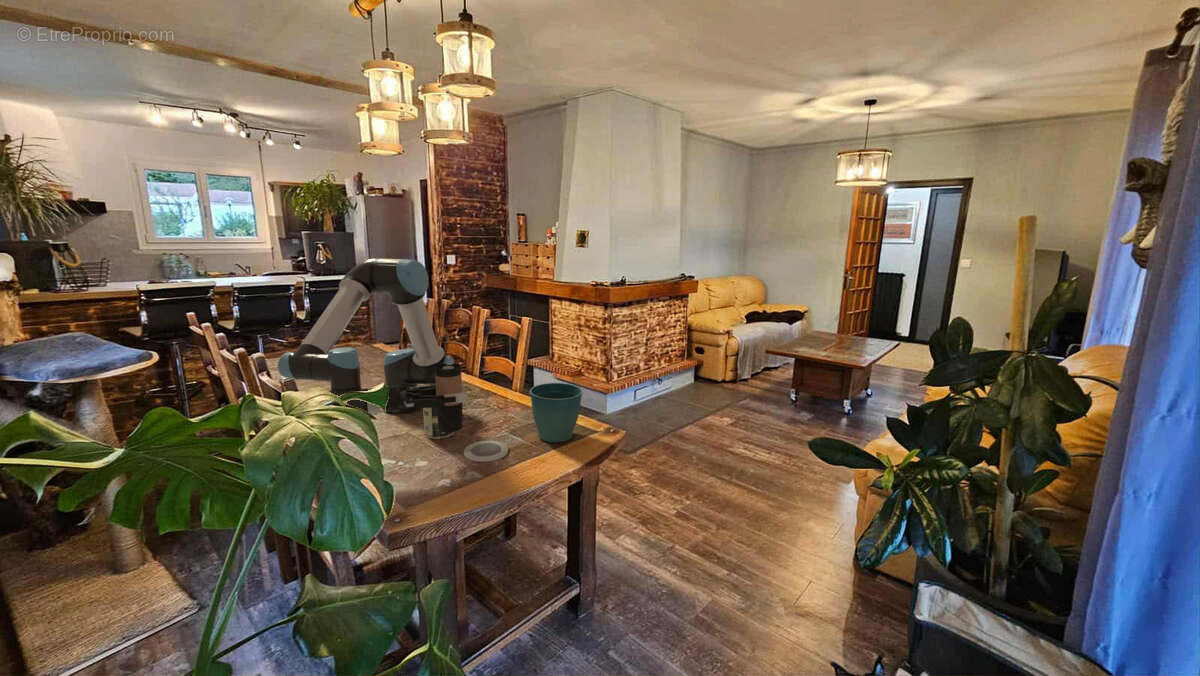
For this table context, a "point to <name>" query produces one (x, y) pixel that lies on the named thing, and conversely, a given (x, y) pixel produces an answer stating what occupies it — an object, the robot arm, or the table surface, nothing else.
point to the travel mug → (449, 384)
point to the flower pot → (555, 410)
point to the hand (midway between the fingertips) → (465, 392)
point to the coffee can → (433, 424)
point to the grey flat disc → (485, 451)
